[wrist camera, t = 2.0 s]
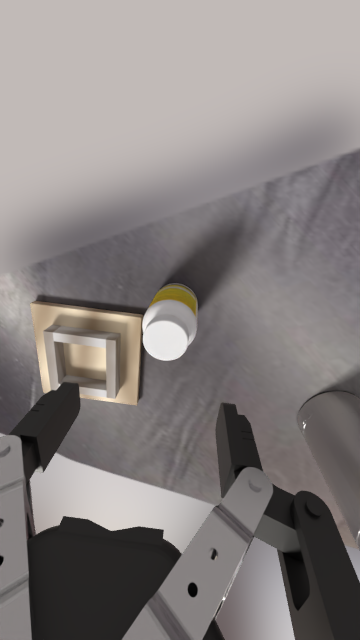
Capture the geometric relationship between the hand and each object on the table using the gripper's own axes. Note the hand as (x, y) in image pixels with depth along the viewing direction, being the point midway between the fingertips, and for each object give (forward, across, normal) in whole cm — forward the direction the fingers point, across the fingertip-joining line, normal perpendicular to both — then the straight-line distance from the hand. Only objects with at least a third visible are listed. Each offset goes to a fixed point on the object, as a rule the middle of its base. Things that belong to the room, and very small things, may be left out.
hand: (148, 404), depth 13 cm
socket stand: (+17, +11, +9) cm, 22 cm away
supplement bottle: (+18, 0, 0) cm, 18 cm away
